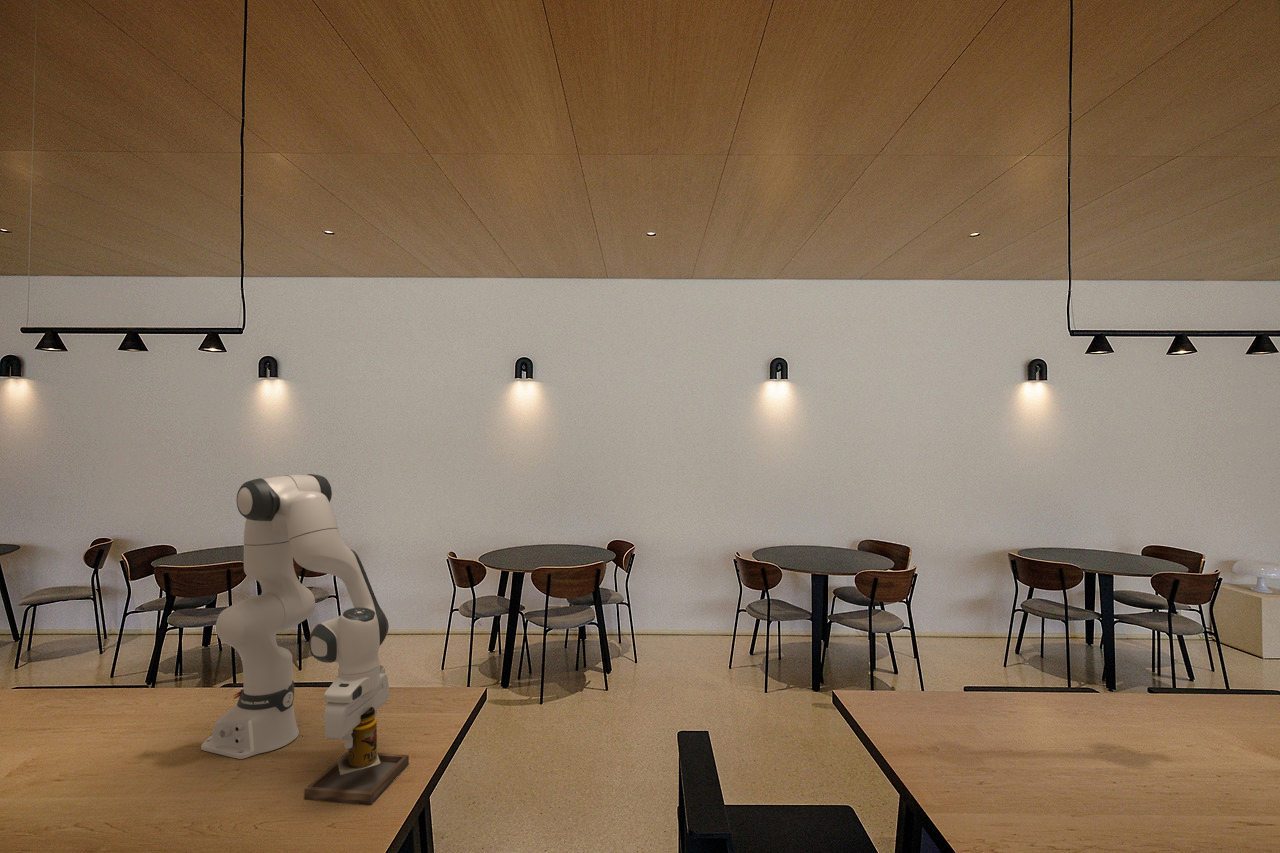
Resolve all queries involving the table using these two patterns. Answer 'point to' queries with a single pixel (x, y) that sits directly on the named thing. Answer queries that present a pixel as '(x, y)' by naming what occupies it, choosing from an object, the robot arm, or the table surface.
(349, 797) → the square wooden tray
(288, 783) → the table surface
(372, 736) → the condiment
